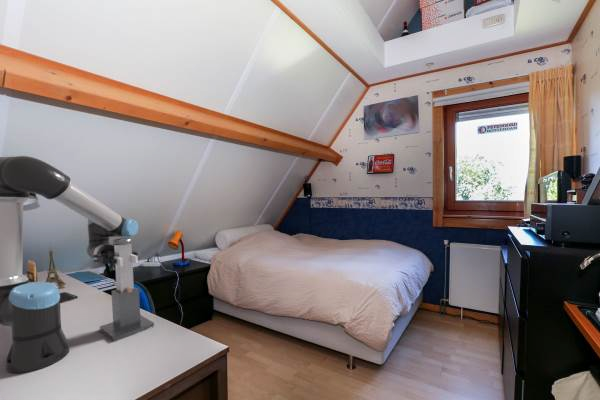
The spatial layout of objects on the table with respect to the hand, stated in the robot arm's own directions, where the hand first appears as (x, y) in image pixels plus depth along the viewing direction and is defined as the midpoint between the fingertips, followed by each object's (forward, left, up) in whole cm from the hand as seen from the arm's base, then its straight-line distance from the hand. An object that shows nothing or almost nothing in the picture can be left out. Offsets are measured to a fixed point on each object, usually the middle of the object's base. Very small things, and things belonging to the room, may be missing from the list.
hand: (129, 261), depth 110 cm
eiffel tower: (+68, +63, -27) cm, 97 cm away
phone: (+48, +48, -27) cm, 74 cm away
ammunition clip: (+88, +85, -27) cm, 126 cm away
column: (+4, +3, -20) cm, 21 cm away
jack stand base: (+4, +3, -27) cm, 27 cm away
